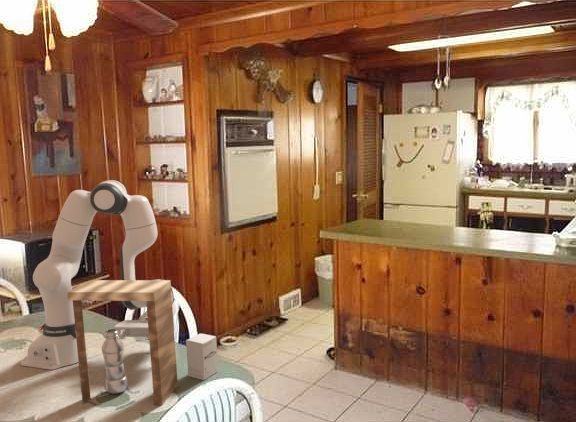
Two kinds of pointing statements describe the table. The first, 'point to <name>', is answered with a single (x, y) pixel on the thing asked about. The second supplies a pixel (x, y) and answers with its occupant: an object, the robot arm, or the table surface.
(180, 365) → the table surface
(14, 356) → the table surface
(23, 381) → the table surface
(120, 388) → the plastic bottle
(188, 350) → the supplement box
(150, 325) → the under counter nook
